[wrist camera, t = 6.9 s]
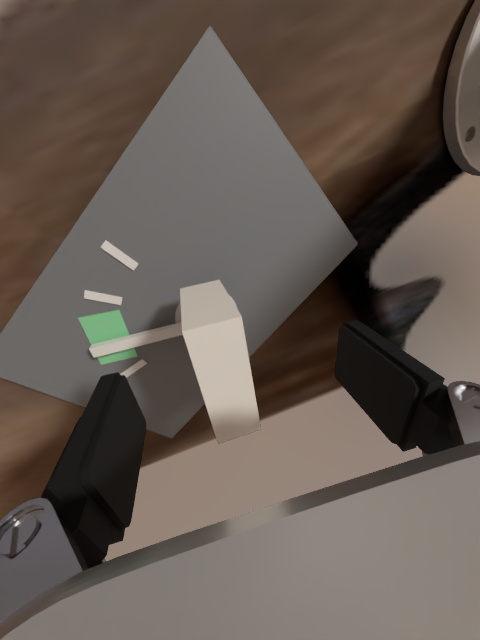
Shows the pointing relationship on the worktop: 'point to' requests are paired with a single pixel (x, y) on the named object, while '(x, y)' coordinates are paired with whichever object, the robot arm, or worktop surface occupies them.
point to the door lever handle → (209, 356)
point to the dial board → (178, 246)
